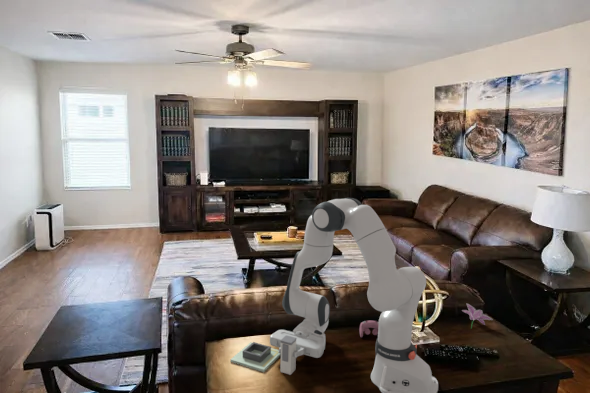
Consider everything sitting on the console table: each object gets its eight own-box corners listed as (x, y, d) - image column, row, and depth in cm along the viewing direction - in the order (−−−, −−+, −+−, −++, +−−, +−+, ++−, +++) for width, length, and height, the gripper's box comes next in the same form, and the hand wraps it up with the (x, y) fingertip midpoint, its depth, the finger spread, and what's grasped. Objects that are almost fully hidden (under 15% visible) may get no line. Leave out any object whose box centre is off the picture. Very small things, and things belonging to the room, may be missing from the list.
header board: (282, 353, 175) (282, 345, 174) (263, 372, 163) (263, 363, 162) (250, 344, 181) (250, 336, 180) (230, 361, 169) (230, 353, 168)
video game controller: (383, 338, 191) (383, 321, 193) (384, 339, 186) (384, 321, 188) (358, 337, 192) (359, 319, 194) (359, 337, 187) (359, 319, 189)
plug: (295, 369, 165) (296, 337, 163) (289, 375, 161) (290, 343, 158) (285, 366, 167) (286, 335, 164) (279, 372, 163) (279, 341, 160)
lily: (493, 334, 195) (498, 312, 197) (472, 327, 191) (477, 304, 194) (473, 330, 206) (477, 309, 208) (452, 323, 202) (457, 302, 205)
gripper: (279, 322, 178) (261, 338, 166) (329, 334, 169) (313, 352, 157) (279, 337, 179) (261, 354, 167) (328, 350, 170) (313, 369, 158)
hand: (287, 353), depth 162 cm, fingers closed on plug, 4 cm apart
